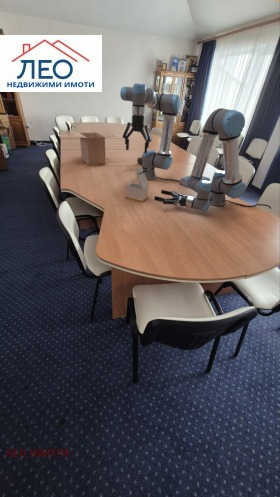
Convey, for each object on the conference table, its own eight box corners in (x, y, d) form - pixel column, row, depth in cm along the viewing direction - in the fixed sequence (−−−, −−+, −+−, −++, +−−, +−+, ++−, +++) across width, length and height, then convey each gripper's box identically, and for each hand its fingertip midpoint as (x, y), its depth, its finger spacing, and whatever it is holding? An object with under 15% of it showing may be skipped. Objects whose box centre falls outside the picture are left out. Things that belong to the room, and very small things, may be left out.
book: (194, 178, 210) (195, 173, 207) (209, 183, 201) (210, 178, 198) (179, 183, 196) (180, 178, 193) (194, 189, 188) (196, 183, 185)
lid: (134, 170, 151) (144, 166, 146) (140, 166, 158) (150, 162, 154) (142, 189, 156) (152, 186, 152) (148, 185, 163) (157, 182, 159)
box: (116, 165, 229) (116, 136, 213) (83, 168, 214) (80, 137, 198) (102, 154, 259) (101, 128, 243) (71, 156, 244) (68, 129, 228)
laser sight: (156, 166, 234) (157, 157, 228) (136, 164, 237) (136, 154, 231) (158, 164, 241) (159, 154, 236) (138, 162, 244) (138, 152, 238)
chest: (125, 197, 166) (126, 186, 160) (131, 193, 173) (131, 182, 168) (142, 201, 162) (143, 190, 156) (147, 197, 169) (148, 186, 163)
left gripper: (117, 112, 137) (117, 149, 149) (154, 117, 129) (151, 155, 142) (123, 112, 142) (122, 147, 155) (159, 116, 135) (155, 153, 147)
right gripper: (180, 213, 145) (151, 206, 151) (190, 199, 164) (163, 193, 170) (182, 203, 141) (152, 195, 147) (192, 190, 159) (164, 184, 166)
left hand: (136, 151), depth 148 cm, fingers open, 13 cm apart
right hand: (158, 194), depth 159 cm, fingers open, 13 cm apart
